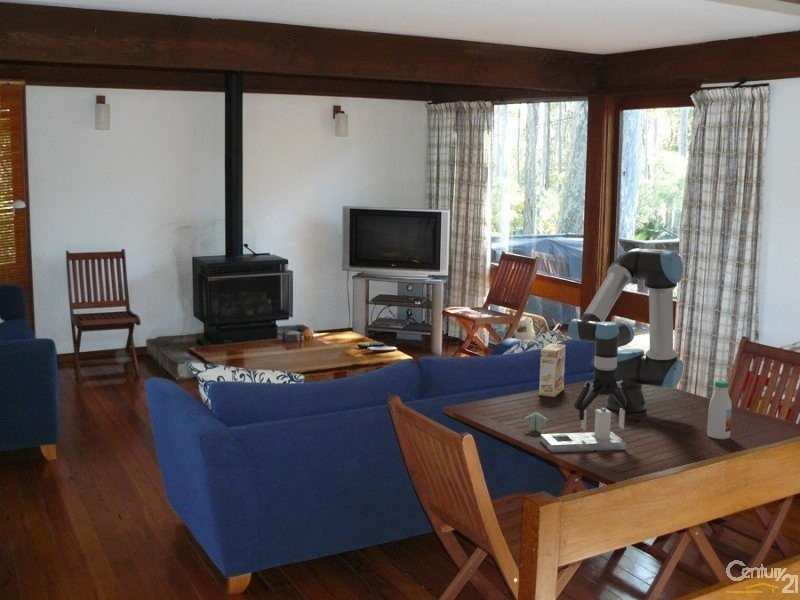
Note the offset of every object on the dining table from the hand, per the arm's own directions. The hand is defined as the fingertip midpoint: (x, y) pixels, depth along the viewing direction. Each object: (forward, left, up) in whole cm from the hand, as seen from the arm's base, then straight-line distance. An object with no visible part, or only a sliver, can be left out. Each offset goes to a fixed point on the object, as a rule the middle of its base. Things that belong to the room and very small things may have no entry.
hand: (602, 428), depth 305 cm
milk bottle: (-45, -4, -6) cm, 46 cm away
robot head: (+18, -18, -6) cm, 26 cm away
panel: (+7, 0, -6) cm, 9 cm away
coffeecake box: (-5, -70, -6) cm, 70 cm away
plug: (0, 0, -6) cm, 6 cm away
